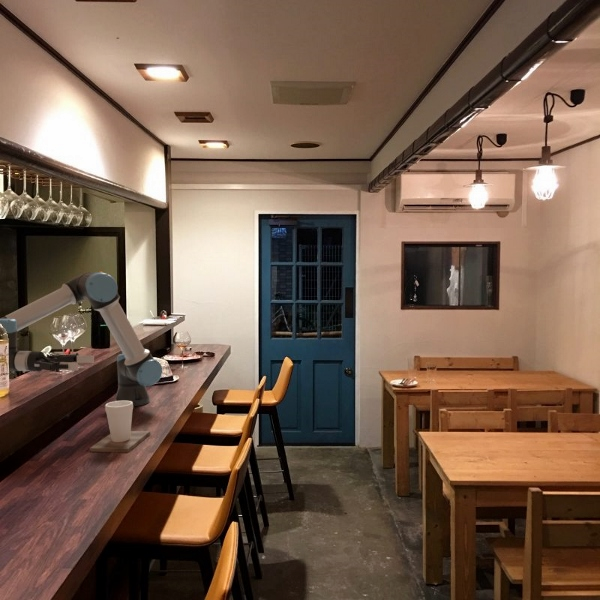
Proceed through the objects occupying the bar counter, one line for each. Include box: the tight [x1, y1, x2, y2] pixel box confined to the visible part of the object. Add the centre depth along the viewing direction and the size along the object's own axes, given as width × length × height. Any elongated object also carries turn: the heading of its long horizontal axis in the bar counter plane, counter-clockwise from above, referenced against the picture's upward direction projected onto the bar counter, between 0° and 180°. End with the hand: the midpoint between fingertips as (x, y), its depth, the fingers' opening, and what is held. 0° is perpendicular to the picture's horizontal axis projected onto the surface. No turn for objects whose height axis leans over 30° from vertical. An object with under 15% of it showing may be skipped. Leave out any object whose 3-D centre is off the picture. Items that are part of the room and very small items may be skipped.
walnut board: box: [89, 430, 151, 453], centre depth 219 cm, size 20×14×1 cm
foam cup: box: [104, 400, 134, 442], centre depth 219 cm, size 10×9×13 cm
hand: (86, 362), depth 226 cm, fingers open, 13 cm apart
